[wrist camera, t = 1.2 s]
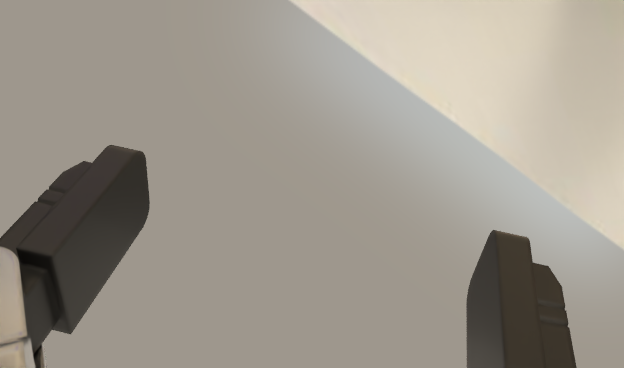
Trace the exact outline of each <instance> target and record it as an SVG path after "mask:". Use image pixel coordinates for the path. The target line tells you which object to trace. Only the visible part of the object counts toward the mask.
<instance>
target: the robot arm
mask: <svg viewBox="0 0 624 368" xmlns="http://www.w3.org/2000/svg"><path fill="white" fill-rule="evenodd" d="M148 212H149V191H148V180H147V167H146V158H145V155H144V153H143V152H141V151H137V150H133V149H128V148H124V147H119V146H114V145H109V146H107V147H106V148H105V149H104V150H103V152H102V153H101V154H100V155H99V156H98V157H97V158H96V159H95V160H94V162H93V163H90V162H86V161H83V162H81V163H79V164H78V165H76V166H74V167H72V168H70V169H68V170H66V171H65V172H63V173H62V174H61V175H60V176H59V177H58V178H57V179H56V180H55V181H54V182H53V183H52V184H51V186H50V187H49V190H46V191H45V192H44V193H43V194H42V195H41V196H40V197H39V198H38V201H37V202H34V203H33V204H32V205H31V206H30V208H29V209H28V210H27V211H26V212H25V213H24V214H23V215H22V216H21V217H20V218H19V219H18V220H17V221H16V222H15V223H14V224H13V225H12V226H11V227H10V229H9V230H8V231H7V232H6V233H5V234H4V235H3V236H2V237H1V238H0V368H47V364H46V356H45V348H44V345H43V341H44V340H45V338H46V337H47V335H48V334H49V333H50V331H51V330H56V331H60V332H64V333H68V334H71V333H72V332H73V330H74V329H75V327H76V326H77V324H78V323H79V321H80V320H81V318H82V317H83V315H84V314H85V312H86V311H87V310H88V308H89V307H90V305H91V304H92V302H93V301H94V299H95V298H96V296H97V294H98V293H99V292H100V290H101V289H102V287H103V286H104V284H105V283H106V281H107V280H108V278H109V277H110V275H111V274H112V273H113V271H114V270H115V268H116V267H117V265H118V264H119V262H120V261H121V259H122V258H123V256H124V255H125V253H126V251H127V250H128V249H129V247H130V246H131V244H132V243H133V241H134V240H135V238H136V237H137V235H138V234H139V232H140V231H141V230H142V228H143V226H144V224H145V222H146V219H147V216H148ZM467 368H576V363H575V357H574V352H573V346H572V341H571V336H570V330H569V328H568V319H567V313H566V311H565V303H564V297H563V292H562V286H561V285H560V283H559V282H558V281H557V279H556V277H555V276H554V274H553V273H552V271H551V270H550V268H549V267H548V266H544V265H540V264H536V263H533V262H532V255H531V247H530V241H529V239H528V238H527V237H523V236H519V235H514V234H510V233H505V232H501V231H496V230H493V231H492V232H491V233H490V235H489V237H488V239H487V242H486V244H485V246H484V249H483V251H482V254H481V256H480V259H479V261H478V263H477V266H476V268H475V271H474V273H473V276H472V278H471V281H470V285H469V289H468V295H467Z"/></svg>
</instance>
